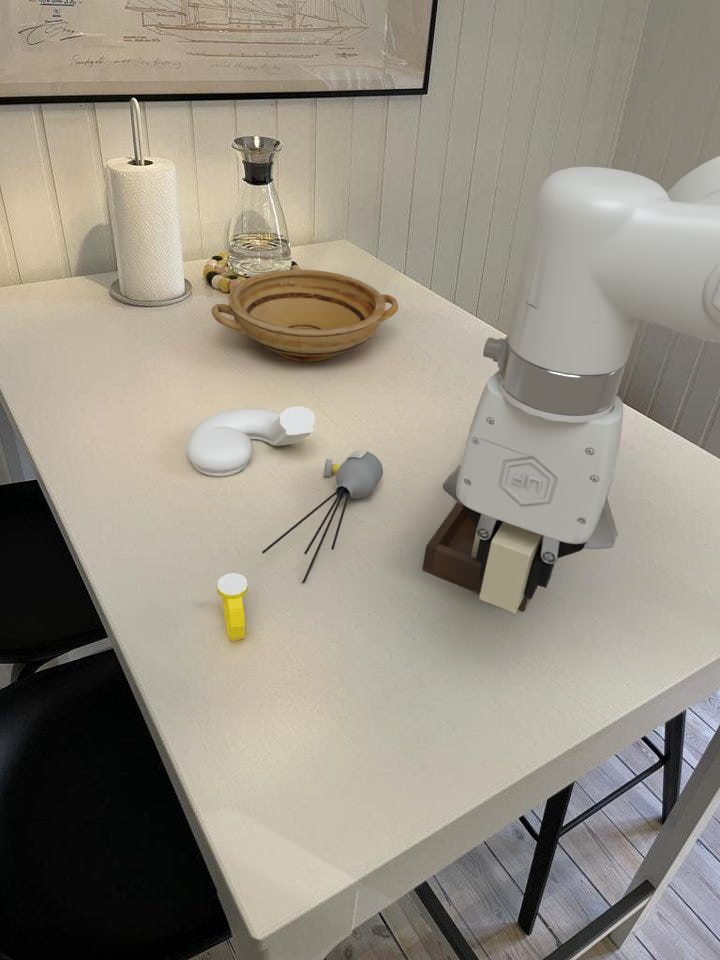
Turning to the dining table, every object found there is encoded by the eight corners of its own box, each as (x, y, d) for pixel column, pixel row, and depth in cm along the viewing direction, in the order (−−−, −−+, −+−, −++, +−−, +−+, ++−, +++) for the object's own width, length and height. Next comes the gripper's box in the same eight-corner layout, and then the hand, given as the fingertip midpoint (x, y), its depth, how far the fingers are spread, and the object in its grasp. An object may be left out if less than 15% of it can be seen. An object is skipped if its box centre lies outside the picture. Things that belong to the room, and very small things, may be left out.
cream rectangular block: (538, 567, 62) (553, 510, 58) (515, 614, 57) (530, 555, 54) (503, 554, 63) (516, 498, 59) (478, 599, 58) (491, 541, 55)
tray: (597, 459, 100) (605, 437, 98) (523, 612, 76) (531, 586, 74) (516, 433, 104) (521, 411, 102) (421, 570, 80) (426, 545, 78)
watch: (215, 606, 74) (212, 562, 70) (243, 602, 75) (242, 558, 71) (223, 653, 69) (221, 608, 66) (253, 648, 70) (252, 603, 67)
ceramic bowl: (370, 308, 134) (374, 264, 129) (419, 373, 116) (425, 325, 111) (202, 318, 126) (199, 272, 121) (226, 390, 107) (224, 339, 103)
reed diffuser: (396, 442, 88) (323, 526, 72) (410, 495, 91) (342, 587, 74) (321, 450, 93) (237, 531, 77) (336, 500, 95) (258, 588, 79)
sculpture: (177, 433, 98) (172, 380, 93) (288, 418, 103) (289, 366, 98) (195, 488, 89) (191, 432, 84) (316, 468, 94) (318, 414, 89)
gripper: (422, 363, 49) (397, 570, 60) (681, 438, 43) (601, 651, 54) (463, 322, 54) (434, 519, 65) (698, 384, 49) (623, 587, 60)
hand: (510, 577), depth 60 cm, fingers closed on cream rectangular block, 3 cm apart
